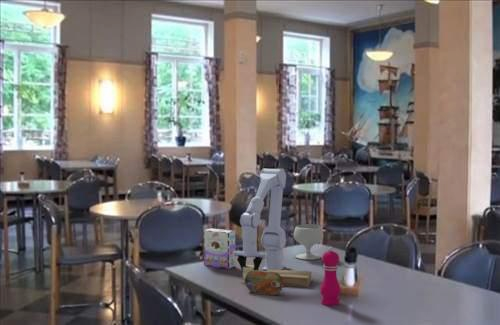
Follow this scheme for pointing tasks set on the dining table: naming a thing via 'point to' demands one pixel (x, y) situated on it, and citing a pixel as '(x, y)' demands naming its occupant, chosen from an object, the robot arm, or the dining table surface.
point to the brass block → (294, 277)
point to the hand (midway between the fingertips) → (249, 274)
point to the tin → (264, 282)
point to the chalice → (308, 239)
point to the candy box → (219, 248)
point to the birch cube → (247, 270)
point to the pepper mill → (330, 279)
